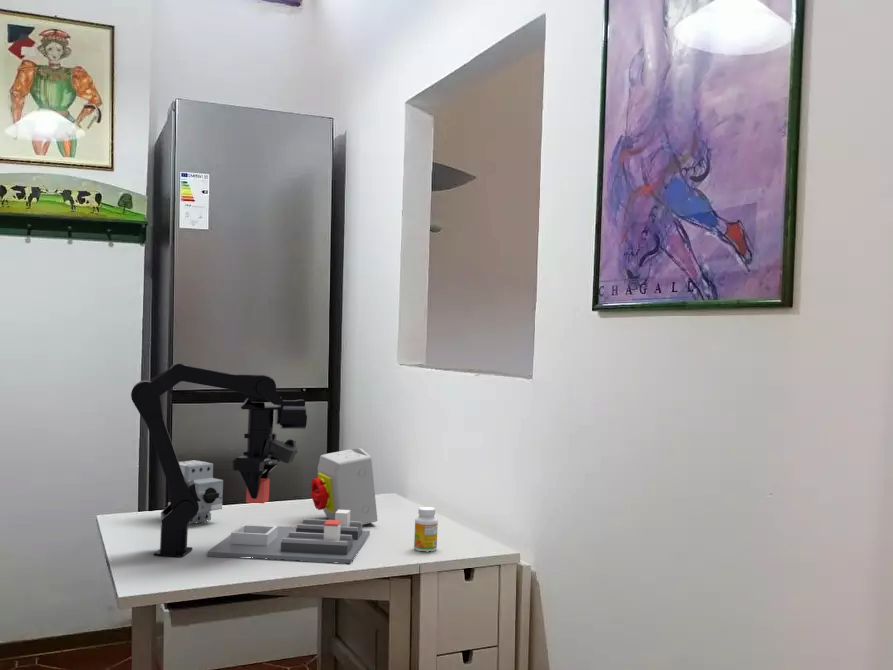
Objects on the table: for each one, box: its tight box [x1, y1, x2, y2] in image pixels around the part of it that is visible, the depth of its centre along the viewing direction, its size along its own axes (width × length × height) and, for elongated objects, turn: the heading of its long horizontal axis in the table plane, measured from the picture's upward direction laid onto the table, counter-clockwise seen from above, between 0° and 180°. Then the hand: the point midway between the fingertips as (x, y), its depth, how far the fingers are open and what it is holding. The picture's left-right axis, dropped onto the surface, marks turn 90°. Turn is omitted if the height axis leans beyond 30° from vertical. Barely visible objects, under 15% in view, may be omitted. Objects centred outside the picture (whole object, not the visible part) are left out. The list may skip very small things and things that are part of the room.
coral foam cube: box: [245, 478, 271, 504], centre depth 186 cm, size 4×4×5 cm
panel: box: [206, 518, 371, 564], centre depth 191 cm, size 27×32×4 cm
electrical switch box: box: [310, 447, 378, 526], centre depth 215 cm, size 15×15×20 cm
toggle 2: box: [335, 509, 350, 527], centre depth 198 cm, size 4×3×4 cm
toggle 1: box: [324, 519, 341, 541], centre depth 184 cm, size 4×3×4 cm
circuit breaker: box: [167, 459, 224, 525], centre depth 210 cm, size 8×14×15 cm, turn 53°
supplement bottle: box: [413, 506, 439, 553], centre depth 191 cm, size 5×5×10 cm
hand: (257, 496), depth 186 cm, fingers closed on coral foam cube, 4 cm apart
